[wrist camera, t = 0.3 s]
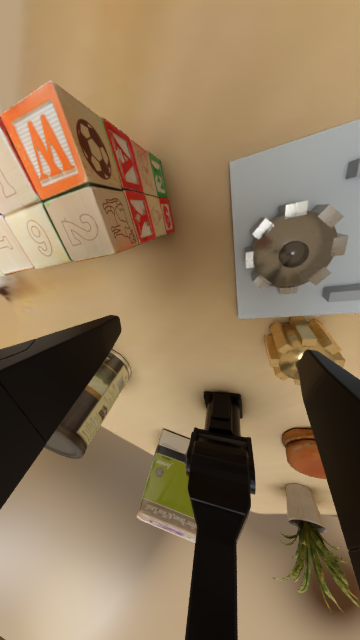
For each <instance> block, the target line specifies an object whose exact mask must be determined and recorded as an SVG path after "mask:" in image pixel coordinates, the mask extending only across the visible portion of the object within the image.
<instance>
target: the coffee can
mask: <svg viewBox="0 0 360 640" xmlns="http://www.w3.org/2000/svg"><path fill="white" fill-rule="evenodd" d="M130 376H131V369H130V367H129V365H128V363H127V361H126V360H125V359H124V358H123V357H122V356H121V355H119V354H118V353H117V352H115V351H113V350H111V351H110V353H109V355H108V356H107V358H106V359H105V361H104V362H103V364H102V365H101V367H100V368H99V369H98V371H97V372H96V374H95V375H94V377H93V378H92V379H91V381H90V382H89V384H88V385H87V387H86V388H85V389H84V391H83V392H82V394H81V395H80V397H79V398H78V399H77V401H76V402H75V404H74V405H73V406H72V408H71V409H70V411H69V412H68V414H67V415H66V416H65V418H64V419H63V421H62V422H61V424H60V425H59V426H58V428H57V429H56V431H55V432H54V434H53V435H52V436H51V438H50V439H49V441H48V442H47V444H46V445H45V448H47V449H48V450H50V451H52V452H55V453H57V454H59V455H62V456H65V457H69V458H73V459H79V458H82V457H83V455H84V453H85V450H86V448H87V446H88V445H89V443H90V442H91V440H92V438H93V437H94V435H95V434H96V432H97V430H98V429H99V427H100V425H101V424H102V422H103V420H104V419H105V417H106V415H107V414H108V412H109V411H110V409H111V407H112V406H113V404H114V402H115V401H116V399H117V397H118V396H119V394H120V392H121V391H122V389H123V387H124V386H125V384H126V383H127V381H128V380H129V378H130Z"/></svg>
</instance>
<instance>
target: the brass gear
mask: <svg viewBox="0 0 360 640" xmlns="http://www.w3.org/2000/svg"><path fill="white" fill-rule="evenodd" d="M270 329H271V332H272V335H265V346H266V350H267V354H268V358H269V362H270V366H271V367H273V368H274V372H275V375H276V376H277V377H279V378H280V379H281V380H285V379H287V378H289V377H290V378H293V379H294V382H295V384H297V385H300V379H299V373H298V362H299V360H300V359H301V357H302V355H303V353H304V351H305V350H307V349H310V350H316V351H319V352H320V353H322V354H323V355H325V356H326V357H327V358H329V359H330V360H332V361H333V362H335V363H336V364H338V365H339V366H340V367H342V368H343V366H344V363H345V359H344V358H343V357H342V355H341V354H340V353H339V351H341V349H340V347H339V346H338V345H337V344H336V342H335V341H334V340H333V338H332V337H331V336H330V335H329V333H328V332H327V331H326V329H325V328H324V327H323V326H322V324H320V323H319V322H318V321H316V320H315V319H314V320H312V321H311V322H309V323H308V324H307V323H306V321H305V320H304V318H303V317H302V316H290V322H289V323H286V324H281V323H280V322H279V321H277V322H275V323H274V324H273V325H271V326H270Z"/></svg>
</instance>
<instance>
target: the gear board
mask: <svg viewBox="0 0 360 640" xmlns="http://www.w3.org/2000/svg"><path fill="white" fill-rule="evenodd" d="M229 164H230V182H231V199H232V217H233V234H234V252H235V270H236V287H237V305H238V319H252V318H271V317H290V316H309V315H328V314H347V313H360V119H358V120H355V121H352V122H349V123H346V124H343V125H340V126H337V127H334V128H331V129H328V130H325V131H322V132H319V133H316V134H313V135H310V136H307V137H304V138H301V139H297V140H294V141H291V142H288V143H285V144H282V145H279V146H276V147H273V148H270V149H267V150H264V151H261V152H258V153H255V154H252V155H249V156H246V157H243V158H240V159H237V160H234V161H231V162H229ZM304 200H308V207H307V211H311V210H312V209H313V208H314V207H315V206H316V205H321V204H330V205H332V206H333V207H334V208H335V209H336V210H337V211H338V212H339V213H341V214H342V215H343V216H344V217H343V218H342V219H341V220H340V221H339V222H338V223H337V224H335V225H334V226H335V229H336V231H337V233H340V234H344V235H349V237H348V242H347V246H346V250H345V254H344V255H341V256H334V257H333V258H332V260H331V262H330V263H329V265H328V266H327V267H326V268H327V269H328V270H329V271H330V272H331V274H330V275H329V276H327V277H326V278H325V279H324V280H322V281H321V282H320V283H319V284H317V285H316V286H315V285H314V284H313V283H312V282H310V281H309V282H307V283H305V284H303V285H300V286H298V289H297V293H294V294H282V295H280V294H279V293H278V291H277V289H276V287H273V286H269V287H267V288H266V289H265V290H262V289H261V288H260V287H258V286H257V285H256V284H254V283H253V282H252V278H251V275H250V274H251V273H252V272H253V271H254V270H255V269H254V268H247V269H246V267H245V263H244V248H245V247H251V246H252V243H253V240H254V238H255V236H253V235H252V234H251V232H250V230H251V229H252V228H253V227H254V226H255V224H256V223H257V222H258V221H259V219H260V218H261V217H264V218H266V219H267V220H270V219H272V218H273V217H275V216H277V215H278V213H279V205H284V204H288V203H292V202H297V201H304Z"/></svg>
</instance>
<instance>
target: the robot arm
mask: <svg viewBox="0 0 360 640" xmlns="http://www.w3.org/2000/svg"><path fill="white" fill-rule="evenodd" d="M120 333H121V324H120V319H119V317H118V316H115V315H109V316H106V317H103V318H100V319H96V320H93V321H90V322H87V323H84V324H81V325H77V326H74V327H71V328H68V329H65V330H62V331H59V332H55V333H52V334H49V335H46V336H43V337H40V338H37V339H33V340H30V341H27V342H24V343H20V344H17V345H14V346H11V347H7V348H3V349H0V509H1V508H2V506H3V505H4V503H5V502H6V501H7V499H8V498H9V496H10V495H11V493H12V492H13V491H14V489H15V488H16V486H17V485H18V484H19V482H20V481H21V479H22V478H23V476H24V475H25V473H26V472H27V471H28V469H29V468H30V466H31V465H32V463H33V462H34V461H35V459H36V458H37V456H38V455H39V454H40V452H41V451H42V449H43V448H44V447H45V445H46V444H47V442H48V441H49V439H50V438H51V436H52V435H53V434H54V432H55V431H56V429H57V428H58V426H59V425H60V424H61V422H62V421H63V419H64V418H65V416H66V415H67V414H68V412H69V411H70V409H71V408H72V406H73V405H74V404H75V402H76V401H77V399H78V398H79V397H80V395H81V394H82V392H83V391H84V389H85V388H86V387H87V385H88V384H89V382H90V381H91V379H92V378H93V377H94V375H95V374H96V372H97V371H98V369H99V368H100V367H101V365H102V364H103V362H104V361H105V359H106V358H107V356H108V355H109V353H110V351H111V350H112V348H113V346H114V344H115V342H116V341H117V339H118V337H119V335H120ZM298 373H299V379H300V385H301V391H302V396H303V401H304V404H305V408H306V411H307V415H308V418H309V421H310V425H311V428H312V431H313V435H314V438H315V441H316V445H317V448H318V451H319V455H320V458H321V462H322V465H323V468H324V472H325V475H326V478H327V482H328V485H329V488H330V492H331V495H332V498H333V502H334V505H335V508H336V512H337V515H338V518H339V521H340V525H341V529H342V532H343V535H344V538H345V542H346V545H347V548H348V550H349V552H348V553H349V556H350V559H351V563H352V566H353V570H354V573H355V576H356V579H357V583H358V586H359V589H360V380H359V379H358V378H356V377H355V376H353V375H352V374H351V373H349V372H348V371H346V370H345V369H343V368H342V367H340V366H339V365H338V364H336V363H335V362H333V361H332V360H330V359H329V358H327V357H326V356H325V355H323V354H322V353H320V352H319V351H316V350H310V349H307V350H305V351H304V353H303V355H302V357H301V359H300V360H299V362H298ZM204 399H205V404H206V408H207V413H206V421H205V429H204V430H203V429H198V428H194V431H193V432H192V434H191V439H190V443H189V446H188V449H187V451H186V454H185V457H184V462H185V464H186V475H187V477H189V480H188V493H189V497H190V501H191V505H192V509H193V513H194V517H195V521H196V525H197V532H196V541H195V551H194V560H193V570H192V579H191V588H190V598H189V607H188V616H187V626H186V635H185V640H238V639H237V638H238V636H237V555H236V544H237V541H238V539H239V537H240V534H241V532H242V530H243V528H244V525H245V523H246V521H247V518H248V515H249V511H250V507H251V497H250V494H254V495H255V468H254V460H253V452H252V444H251V438H250V437H247V438H246V437H241V434H240V419H241V418H242V402H241V395H238V394H226V393H213V392H204ZM0 640H5V639H4V638H2V637H1V636H0Z"/></svg>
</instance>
